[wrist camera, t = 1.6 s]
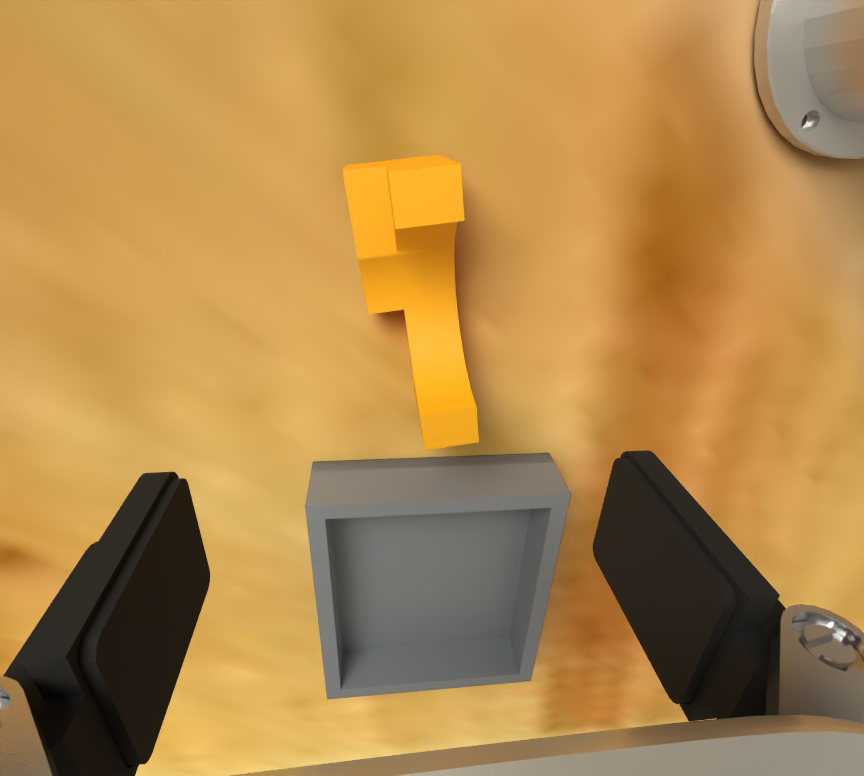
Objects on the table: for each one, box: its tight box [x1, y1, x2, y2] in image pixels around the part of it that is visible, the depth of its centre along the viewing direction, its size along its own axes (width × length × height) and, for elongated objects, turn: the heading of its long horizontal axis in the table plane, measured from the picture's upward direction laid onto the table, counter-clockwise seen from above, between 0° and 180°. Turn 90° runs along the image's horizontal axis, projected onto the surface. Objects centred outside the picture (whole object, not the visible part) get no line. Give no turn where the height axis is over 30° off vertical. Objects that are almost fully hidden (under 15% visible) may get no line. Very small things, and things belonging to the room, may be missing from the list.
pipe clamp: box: [343, 155, 479, 450], centre depth 23 cm, size 12×4×6 cm, turn 6°
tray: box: [305, 453, 571, 699], centre depth 33 cm, size 15×18×4 cm
